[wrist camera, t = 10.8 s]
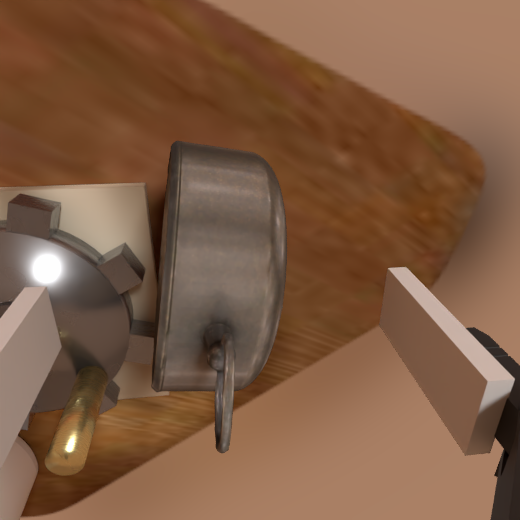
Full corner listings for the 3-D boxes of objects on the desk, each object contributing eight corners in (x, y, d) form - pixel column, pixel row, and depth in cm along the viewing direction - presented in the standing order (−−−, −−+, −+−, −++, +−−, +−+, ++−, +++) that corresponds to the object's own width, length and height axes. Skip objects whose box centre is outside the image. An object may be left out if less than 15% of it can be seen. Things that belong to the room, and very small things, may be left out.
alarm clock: (173, 119, 22) (129, 228, 8) (270, 136, 24) (388, 258, 9) (157, 295, 27) (110, 571, 12) (239, 302, 28) (286, 564, 13)
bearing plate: (-56, 407, 28) (-63, 417, 28) (-148, 192, 22) (-162, 197, 21) (169, 386, 30) (169, 395, 29) (145, 182, 24) (144, 186, 23)
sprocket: (135, 421, 30) (116, 532, 23) (-111, 393, 26) (-224, 515, 19) (181, 229, 24) (175, 298, 17) (-124, 159, 20) (-291, 211, 13)
